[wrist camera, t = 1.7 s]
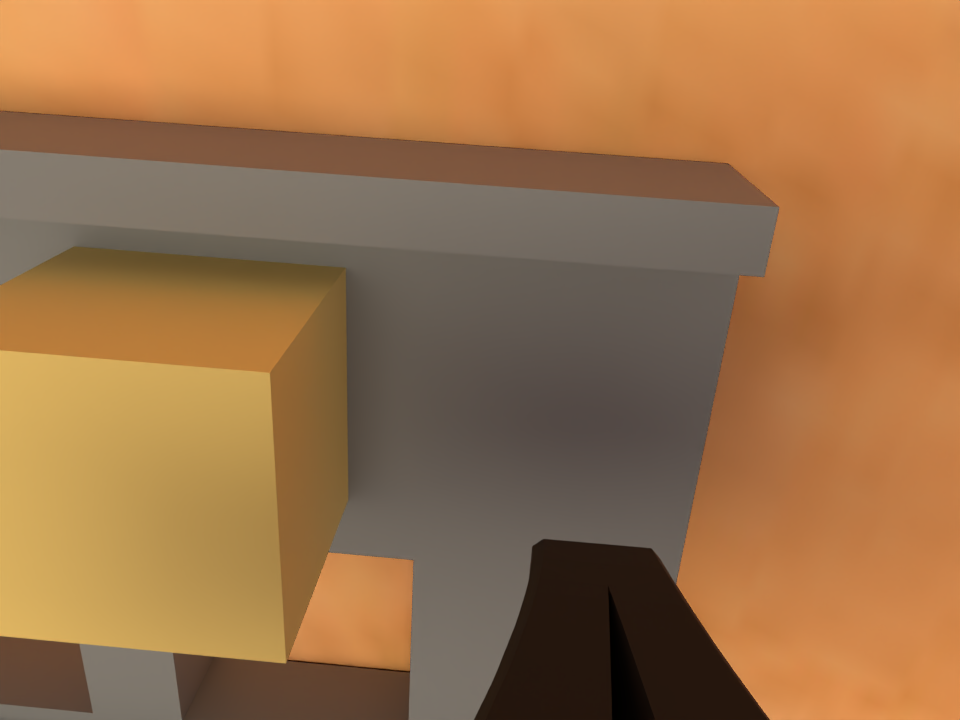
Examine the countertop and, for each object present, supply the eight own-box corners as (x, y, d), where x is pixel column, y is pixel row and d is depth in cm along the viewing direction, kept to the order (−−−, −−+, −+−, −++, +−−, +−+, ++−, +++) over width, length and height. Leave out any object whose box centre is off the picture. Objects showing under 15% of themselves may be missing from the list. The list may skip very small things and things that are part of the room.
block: (345, 267, 13) (269, 372, 9) (348, 499, 15) (286, 664, 11) (74, 246, 13) (-107, 341, 9) (110, 478, 15) (-29, 633, 11)
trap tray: (728, 163, 14) (779, 207, 11) (620, 738, 20) (634, 867, 17) (-380, 83, 14) (-613, 104, 11) (-166, 661, 20) (-284, 772, 17)
